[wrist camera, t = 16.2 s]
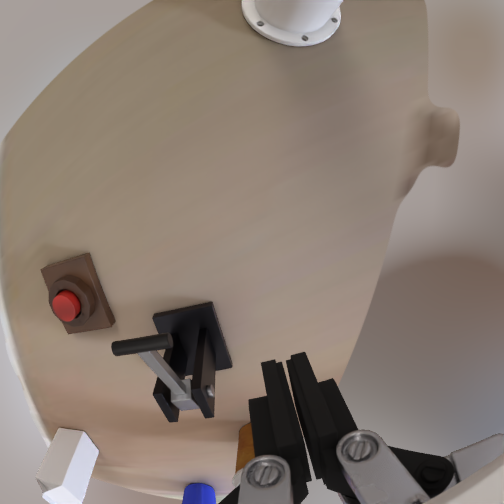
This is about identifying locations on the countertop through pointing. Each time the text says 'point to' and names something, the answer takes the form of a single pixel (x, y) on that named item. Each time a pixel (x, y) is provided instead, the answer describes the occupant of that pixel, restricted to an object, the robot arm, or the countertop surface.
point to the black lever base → (192, 355)
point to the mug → (199, 494)
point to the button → (66, 305)
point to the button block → (79, 293)
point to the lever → (159, 366)
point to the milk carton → (67, 467)
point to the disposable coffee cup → (243, 452)
